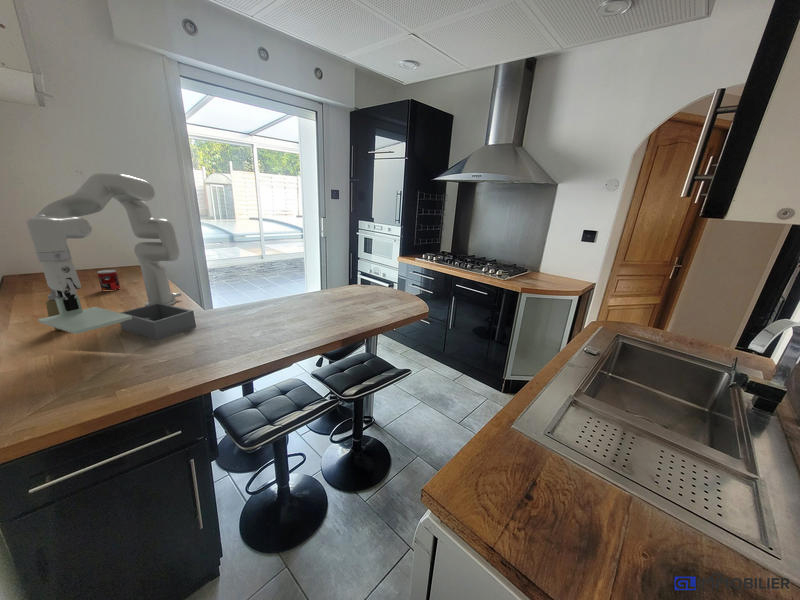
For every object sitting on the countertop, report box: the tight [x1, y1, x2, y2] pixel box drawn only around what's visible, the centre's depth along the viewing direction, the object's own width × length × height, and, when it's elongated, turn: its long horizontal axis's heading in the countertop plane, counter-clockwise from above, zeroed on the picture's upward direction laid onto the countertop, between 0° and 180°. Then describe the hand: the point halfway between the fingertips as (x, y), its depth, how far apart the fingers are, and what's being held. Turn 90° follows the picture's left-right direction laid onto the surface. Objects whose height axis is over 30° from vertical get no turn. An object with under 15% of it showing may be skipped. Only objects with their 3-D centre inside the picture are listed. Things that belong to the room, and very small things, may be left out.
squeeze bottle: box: [45, 288, 63, 332], centre depth 122 cm, size 8×8×18 cm
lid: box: [37, 294, 132, 335], centre depth 103 cm, size 15×22×8 cm
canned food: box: [96, 269, 121, 291], centre depth 175 cm, size 8×8×11 cm
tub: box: [120, 303, 197, 341], centre depth 125 cm, size 15×22×8 cm
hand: (70, 308), depth 107 cm, fingers closed on lid
